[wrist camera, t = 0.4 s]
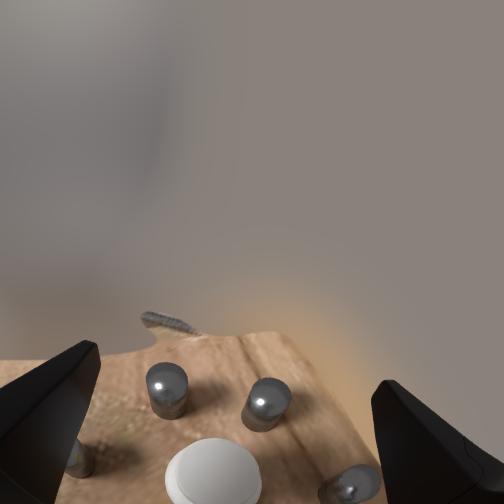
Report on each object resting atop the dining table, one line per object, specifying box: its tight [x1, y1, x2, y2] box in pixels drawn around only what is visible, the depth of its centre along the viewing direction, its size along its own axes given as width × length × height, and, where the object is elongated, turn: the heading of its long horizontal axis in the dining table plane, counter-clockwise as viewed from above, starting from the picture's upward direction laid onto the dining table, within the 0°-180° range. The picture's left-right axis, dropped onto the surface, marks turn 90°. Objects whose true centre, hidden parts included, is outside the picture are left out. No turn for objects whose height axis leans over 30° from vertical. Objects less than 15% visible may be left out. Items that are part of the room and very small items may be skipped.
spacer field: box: [64, 362, 381, 504], centre depth 14 cm, size 19×24×4 cm
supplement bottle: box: [165, 438, 262, 504], centre depth 13 cm, size 5×5×10 cm
